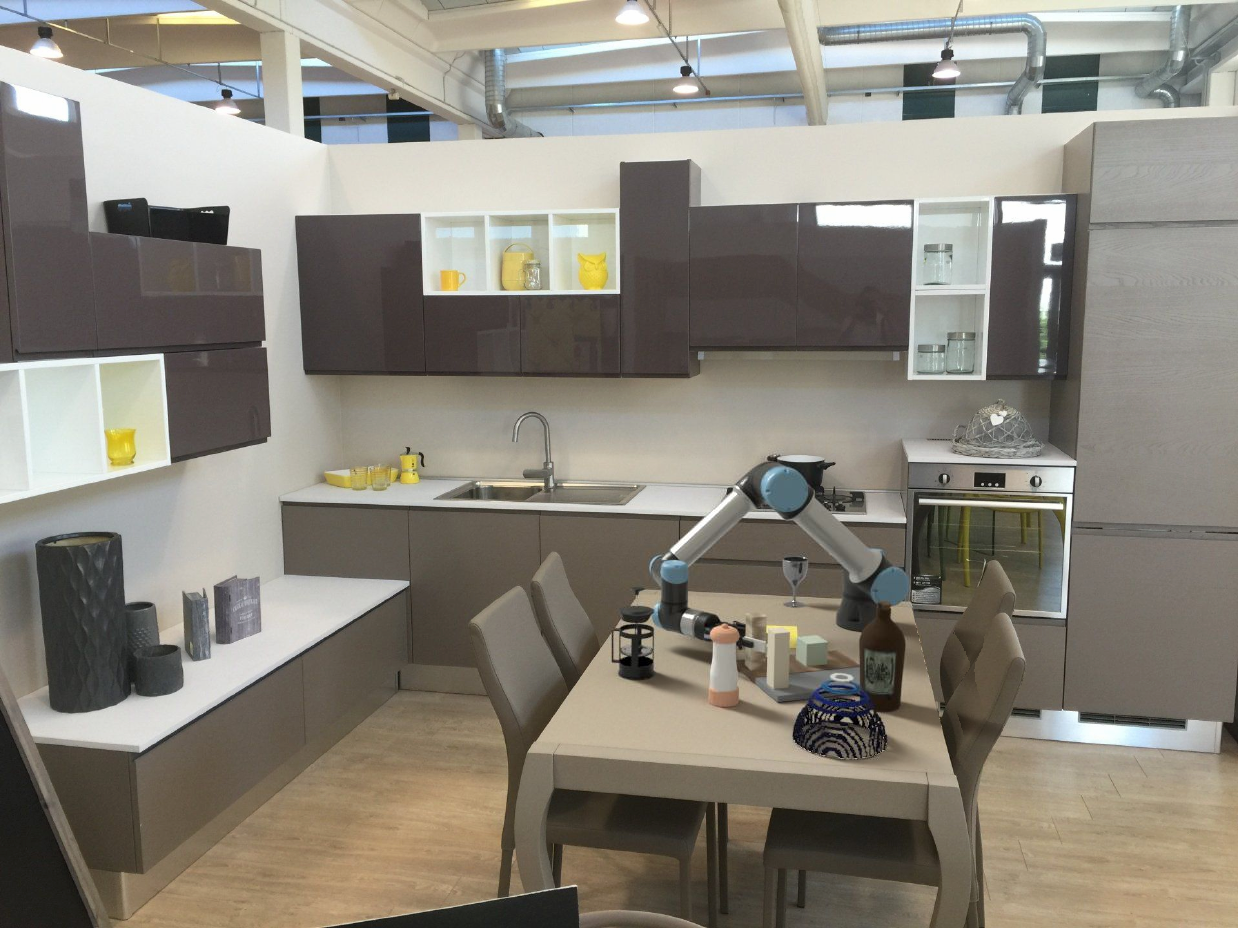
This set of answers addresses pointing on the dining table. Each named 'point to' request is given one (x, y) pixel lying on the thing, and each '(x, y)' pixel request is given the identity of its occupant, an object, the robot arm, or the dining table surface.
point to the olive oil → (882, 660)
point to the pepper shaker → (724, 667)
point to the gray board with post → (796, 684)
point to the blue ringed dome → (839, 719)
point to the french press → (635, 642)
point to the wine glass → (795, 575)
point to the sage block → (811, 650)
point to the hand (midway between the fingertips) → (772, 644)
